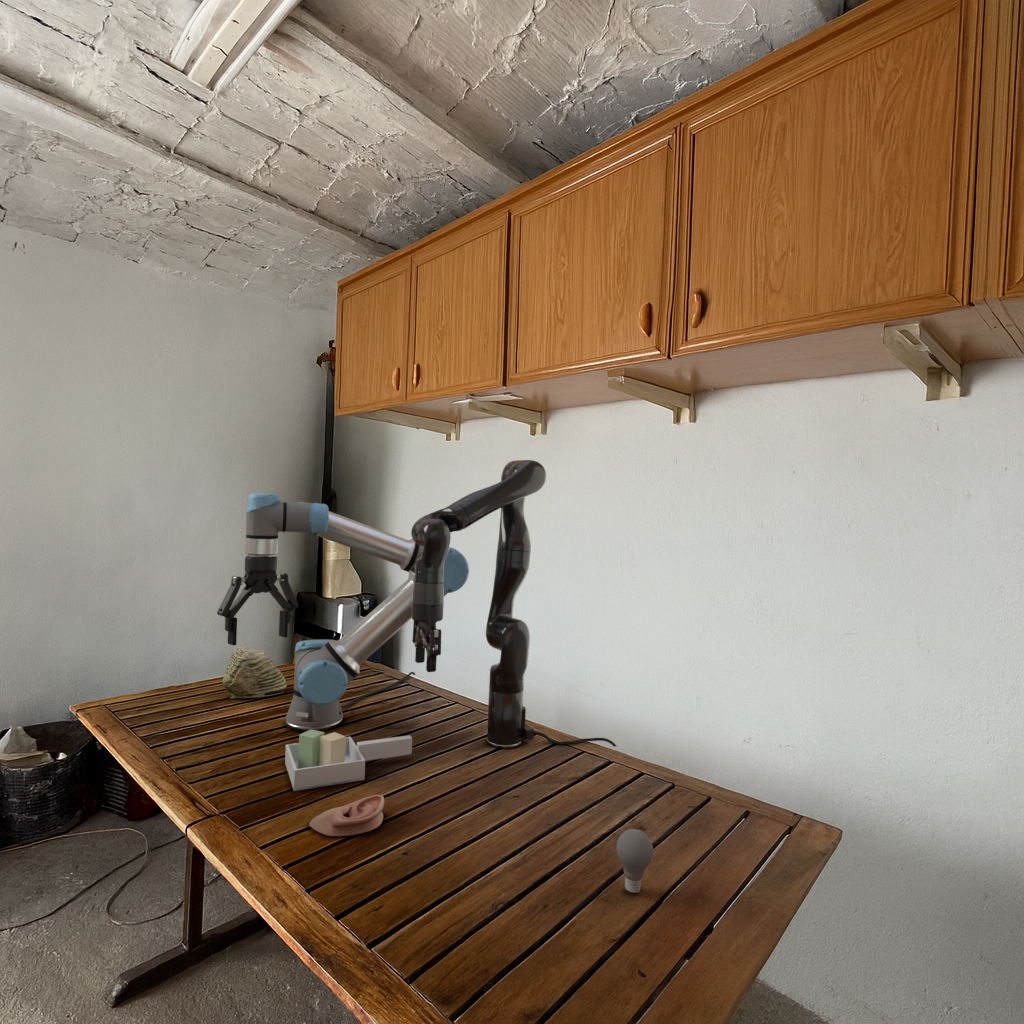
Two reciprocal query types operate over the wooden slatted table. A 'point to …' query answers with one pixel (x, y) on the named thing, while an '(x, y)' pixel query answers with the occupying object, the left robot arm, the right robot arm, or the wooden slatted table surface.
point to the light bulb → (634, 857)
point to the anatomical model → (351, 817)
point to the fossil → (252, 674)
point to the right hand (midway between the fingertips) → (425, 666)
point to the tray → (350, 767)
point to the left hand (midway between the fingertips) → (258, 640)
